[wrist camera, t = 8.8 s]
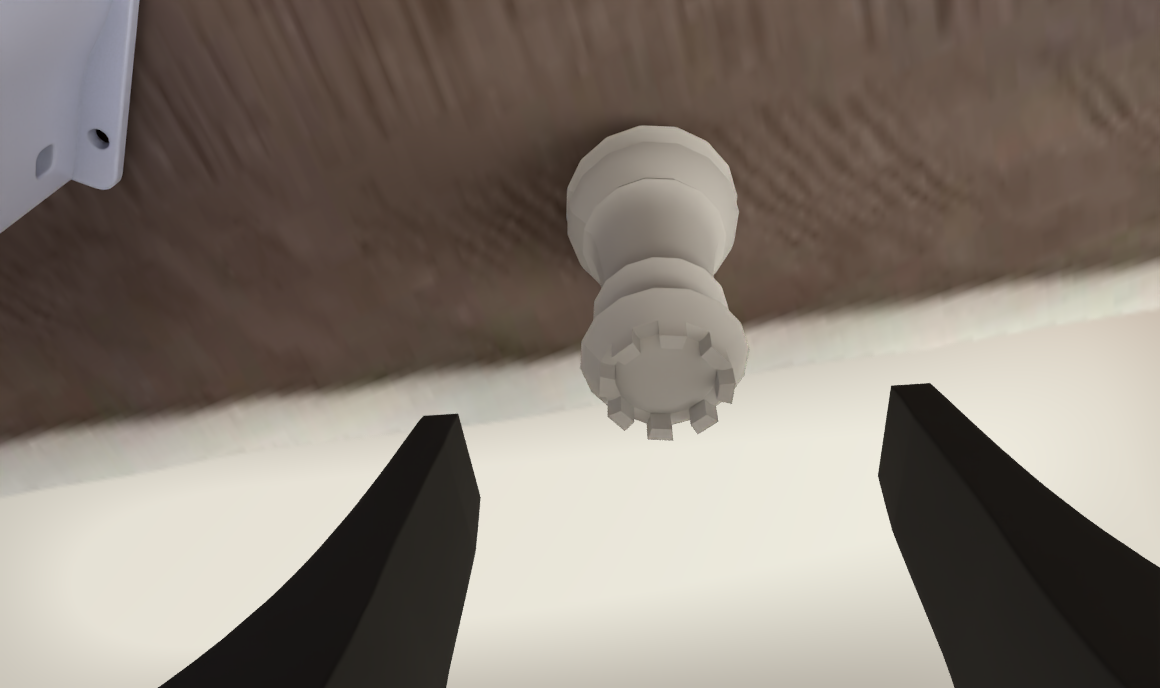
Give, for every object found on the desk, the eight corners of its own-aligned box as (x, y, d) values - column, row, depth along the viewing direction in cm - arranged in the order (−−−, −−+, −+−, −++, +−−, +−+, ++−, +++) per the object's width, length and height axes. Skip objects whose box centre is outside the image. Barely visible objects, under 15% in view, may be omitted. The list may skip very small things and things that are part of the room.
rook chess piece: (550, 252, 22) (524, 452, 16) (587, 98, 20) (575, 262, 13) (703, 286, 23) (740, 494, 16) (759, 139, 20) (829, 318, 14)
